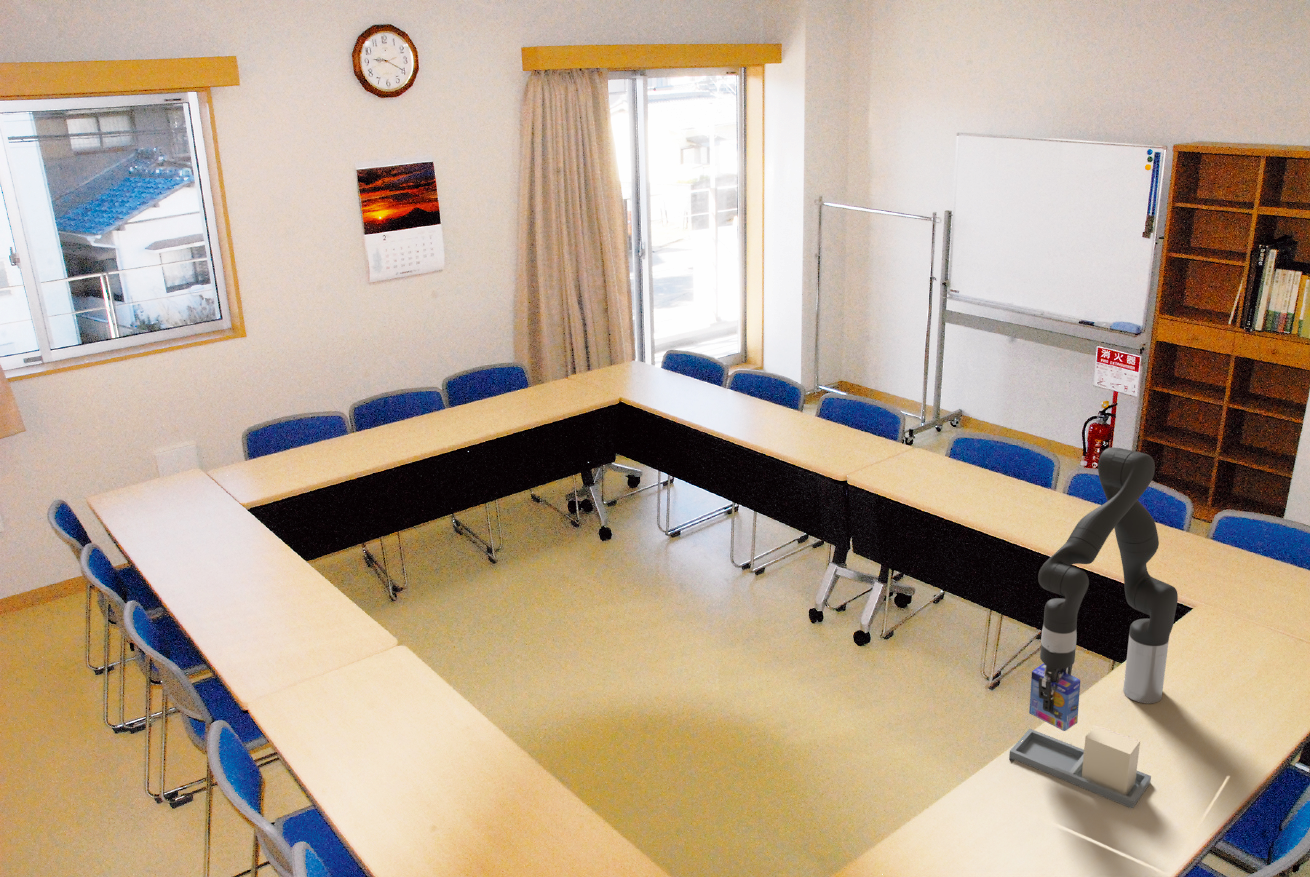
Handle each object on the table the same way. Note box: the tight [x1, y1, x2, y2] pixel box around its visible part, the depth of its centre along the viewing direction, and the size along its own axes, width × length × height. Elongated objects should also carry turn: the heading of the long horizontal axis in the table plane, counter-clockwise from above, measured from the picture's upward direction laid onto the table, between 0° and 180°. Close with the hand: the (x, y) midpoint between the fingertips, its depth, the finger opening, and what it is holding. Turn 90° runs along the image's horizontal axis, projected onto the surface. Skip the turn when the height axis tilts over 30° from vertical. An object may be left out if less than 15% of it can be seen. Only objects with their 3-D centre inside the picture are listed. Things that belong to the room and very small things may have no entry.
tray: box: [1008, 728, 1152, 810], centre depth 247 cm, size 11×29×2 cm, turn 47°
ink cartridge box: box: [1028, 662, 1081, 732], centre depth 245 cm, size 10×6×14 cm, turn 38°
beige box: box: [1082, 724, 1141, 796], centre depth 240 cm, size 6×10×12 cm, turn 47°
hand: (1053, 704), depth 246 cm, fingers closed on ink cartridge box, 5 cm apart
